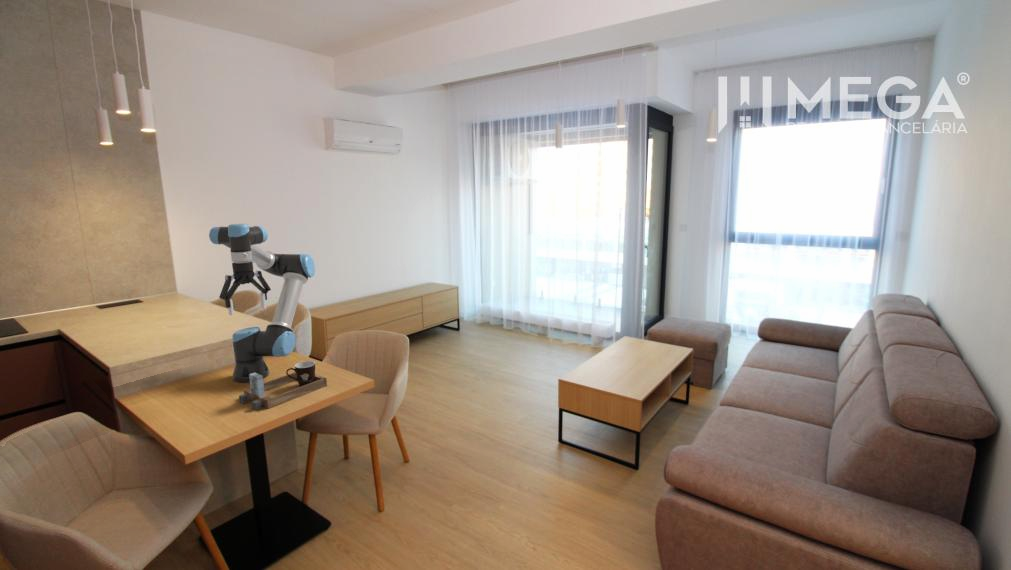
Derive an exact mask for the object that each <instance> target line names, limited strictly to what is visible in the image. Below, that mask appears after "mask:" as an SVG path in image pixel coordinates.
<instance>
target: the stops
mask: <svg viewBox="0 0 1011 570" xmlns="http://www.w3.org/2000/svg"><path fill="white" fill-rule="evenodd" d="M238 398H239V403H241V404H242V405H245V404H247V403H249V399H248V396H247V395H245V394H244V393H242V394H240V395H239V396H238ZM251 404H252V405H251V406H252V409H253V410H254V411H259V410H260V409H262V406H261V402H260V401H258V400H255V401H251Z"/></svg>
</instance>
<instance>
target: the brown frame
mask: <svg viewBox="0 0 1011 570" xmlns="http://www.w3.org/2000/svg"><path fill="white" fill-rule="evenodd" d="M288 374H289V375H290V376H291V377H294V378H296V379H298V378H297V374H296V372H295V371H294V372H292V373H288ZM249 378H250V382H249V385H250V387H248V388H245V389H243V394H245V395H247V396H248V401H251V402H252V401H255V400H258V401H260V402H261V407H264V408H266V409H271V408H274V407H276V406H278V405H281V404H283V403H286V402H289V401H291V400H294V399H296V398H299V397H301V396H304V395H307V394H309V393H311V392H315V391H317V390H319V389H321V388H324V387H326V386H328V383H327V382H328V381H327V377H324V376H322V375H318V374H316V373H315V381H314V382H312V383H309V384H306V385H304V386H301V387H299V386H298V387H296V388H293V389H291V390H288V391H286V392H283V393H281V394H278V395H276V396H273V397H272V396H271V397H270V396H268V395H266V394H265V393H266V392H267V391H269V390H273V389H275V388H279V387H281V386H284V385H287V384H289V383H292V382H295V381H296V380H295V379H293V378H290V377H289V376H288V375H287V374H286V375H283V376H280V377H277V378H275V379H272V380H269V381H265V382H264V378H263V376H262V375H260V374H257V373H252V374H249Z"/></svg>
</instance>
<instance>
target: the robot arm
mask: <svg viewBox="0 0 1011 570" xmlns="http://www.w3.org/2000/svg"><path fill="white" fill-rule="evenodd" d="M268 236H269V234H268V231H267V229H266V228H265V227H263V226H260V225H254V226H249V225H248V224H247V223H234V224H233V223H231V224H229V225H227V226H214V227H211V229H210V230H209V234H208V237H209V241H210V242H211V243H212V244H213V245H219V246H220V245H223V246H226V247H227V248H229V249H230V258H231V259H230V260H231V262H232V263H231V265H232V266H231V267H232V272H233V274H231V275H227V274H225V277H224V278H225V279H224V280H225V281H224V284H223V286H222V289H221V291H220V295H219V299H221V300H224V303H225V307H226V308H227V309H228V315H229V316H235V312H234V311H235V310H234V304H233V303H234V302H233V299H232V298H233V295H234V293H235V292H236V291H237V289H238V288H239V287H240V286H241V285H246V284H252V285H253V286H254V287H255V288H256V289H257V290H259V291H260V293H259V299H260V308H261V309H267V303H266V302H267V300H268V296H267V295H268V293H269V291H271V287H270V286H269V284H268V283H267V281H266V280H265V278H264V276H263V274H262V271H264V272H266V273H269V274H270V275H273V276H276V277H282V278H283V280H284V282H283V284H282V287H281V292H280V293H279V294H280V295H279V298H278V301H277V304H276V307H275V311H274V315H273V318H272V321H271V323H269V324H268V325H266V328H265V331H261V328H260V327H259V326H251V327H246V328H242V329H239V330H237V331H235V332H233V334H232V342H231V343H232V345H233V347H232V348H233V354H234V362H235V365H234V368H233V372H232V379H233V381H234V382H237V383H250V378H249V374H252V373H257V374H260V375H262V376H263V379H264V378H266V377H268V376H269V375H270V371H269V366H268V365H267V363H266V360H265V359H264V357H271V358H273V357H274V358H280V357H283V358H284V357H287V356H289V355H290V354H291V353H292V352H293V351H294V349H295V346H296V343H297V342H296V339H297V337H296V334H295V333H294V329H293V328H292V324H293V321H294V318H295V317H294V316H295V314H296V310H297V308H298V307H297V306H298V303H299V299H300V298H301V297H300V296H301V293H302V289H303V285H305V284H307V283H308V279H309V278H313V277H314V276H315V272H316V265H315V261H314V259H313V257H312V256H311V255H309V254H305V253H304V254H303V253H300V254H299V253H296V254H295V253H292V254H291V253H285V254H284V253H274V252H272V251H269V250H265V249H263V248H262V247H260V246H258V245H261V244H263V243H265V242H267V240H268ZM254 263H255V264H256V266H257V267H258V268H259V269H260V270H256V271H254ZM261 270H262V271H261ZM255 277H256V278H257V279H258V281H259V282H257V280H256V279H255ZM233 280H234V281H233ZM232 281H233V282H232ZM231 284H232V285H231Z"/></svg>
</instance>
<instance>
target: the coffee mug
mask: <svg viewBox="0 0 1011 570" xmlns="http://www.w3.org/2000/svg"><path fill="white" fill-rule="evenodd" d="M290 370H292V371H294V372H296V374H297V378H298V379H296V378H294V377H291V376H290V375H289V374H290V373H288V371H290ZM315 374H316V362H315V361H314V360H305V361H300V362H297V363H296V364H294V368H293V367H290V368H288V369H287V370H286V375H288V376H289V377H290V378H293V379H295V381H297V382H298V388H299V387H301V386H304V385H306V384H309V383H312V382H314V381H315Z"/></svg>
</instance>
